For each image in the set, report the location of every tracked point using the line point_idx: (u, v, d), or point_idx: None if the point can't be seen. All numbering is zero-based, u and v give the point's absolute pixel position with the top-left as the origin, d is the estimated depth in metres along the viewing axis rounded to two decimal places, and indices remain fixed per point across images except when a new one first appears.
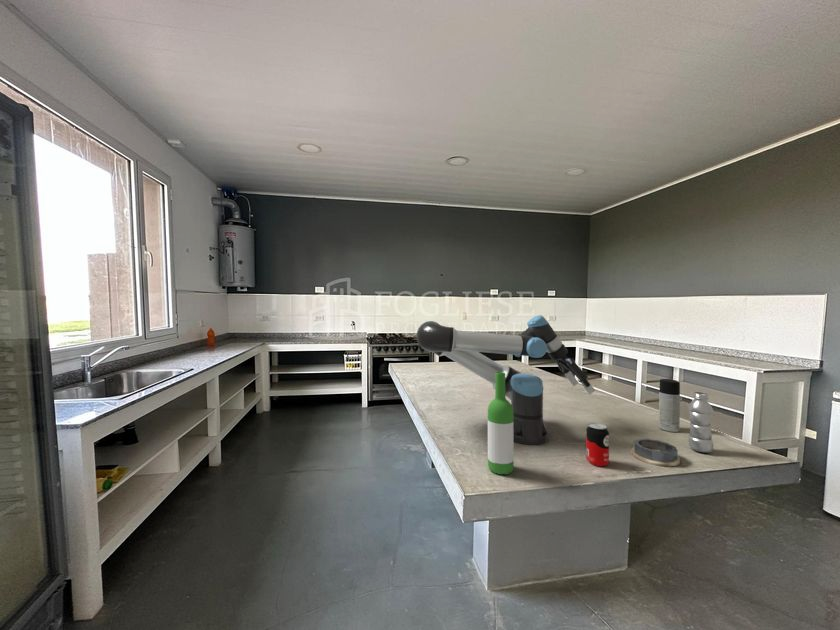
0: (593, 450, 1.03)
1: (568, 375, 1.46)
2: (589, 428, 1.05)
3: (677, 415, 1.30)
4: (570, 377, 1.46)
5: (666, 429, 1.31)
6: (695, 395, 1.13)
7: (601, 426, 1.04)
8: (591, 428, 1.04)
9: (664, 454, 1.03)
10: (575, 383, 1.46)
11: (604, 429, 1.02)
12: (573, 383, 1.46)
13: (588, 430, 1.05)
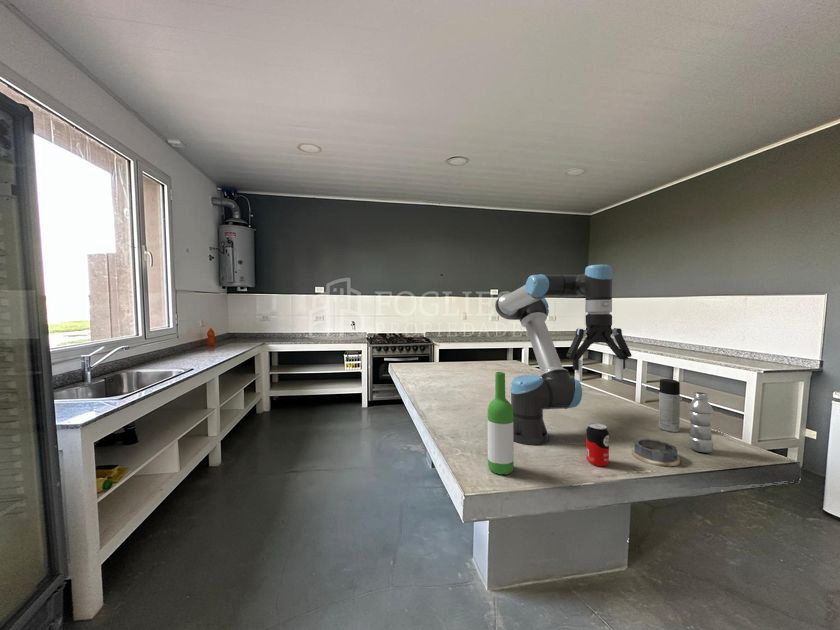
0: (593, 450, 1.03)
1: (616, 362, 1.06)
2: (589, 428, 1.05)
3: (677, 415, 1.30)
4: (617, 366, 1.06)
5: (666, 429, 1.31)
6: (695, 395, 1.13)
7: (601, 426, 1.04)
8: (591, 428, 1.04)
9: (664, 454, 1.03)
10: (618, 377, 1.06)
11: (604, 429, 1.02)
12: (616, 375, 1.06)
13: (588, 430, 1.05)
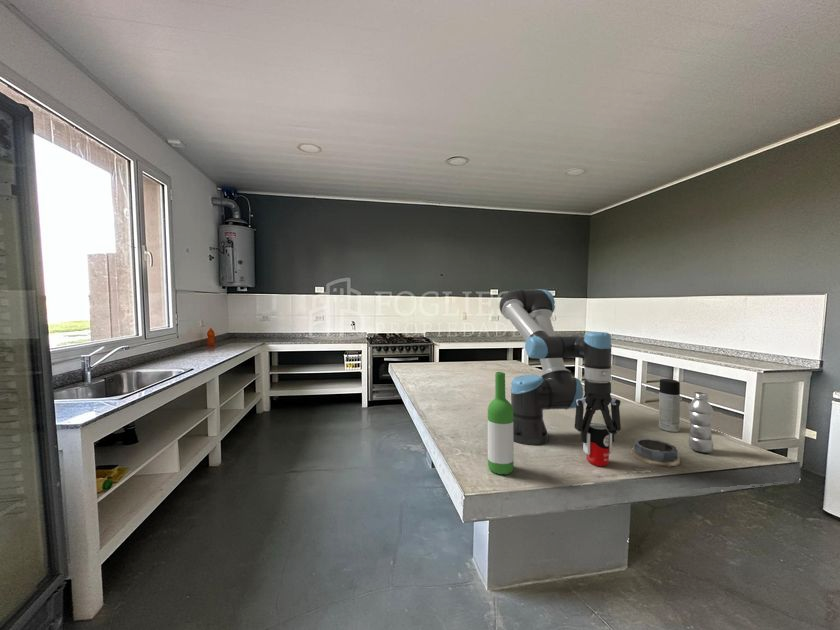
0: (593, 450, 1.03)
1: None
2: (589, 428, 1.05)
3: (677, 415, 1.30)
4: None
5: (666, 429, 1.31)
6: (695, 395, 1.13)
7: (601, 426, 1.04)
8: (591, 428, 1.04)
9: (664, 454, 1.03)
10: None
11: (604, 429, 1.02)
12: None
13: (588, 430, 1.05)
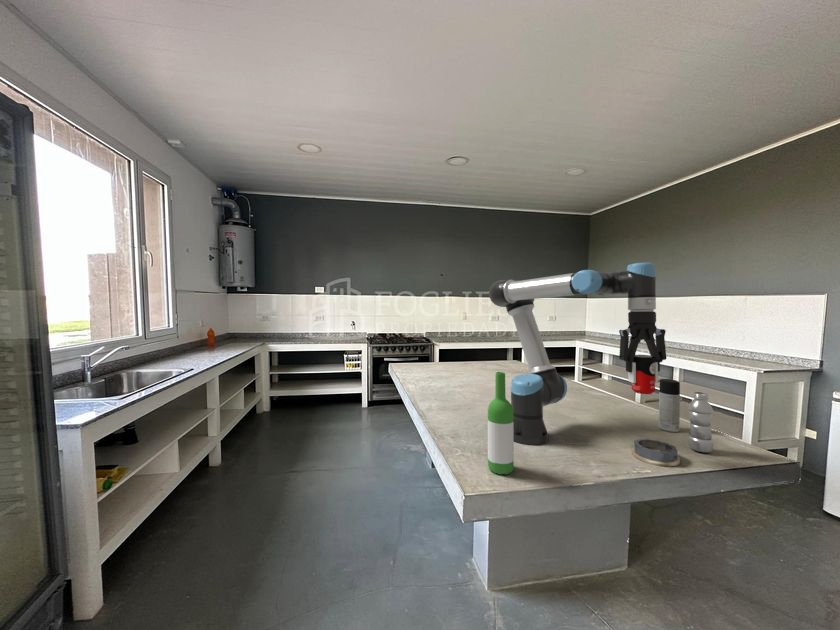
0: (639, 378, 1.04)
1: None
2: (634, 358, 1.06)
3: (677, 415, 1.30)
4: None
5: (666, 429, 1.31)
6: (695, 395, 1.13)
7: (646, 356, 1.06)
8: (637, 357, 1.05)
9: (664, 454, 1.03)
10: None
11: (650, 357, 1.04)
12: None
13: (633, 360, 1.06)
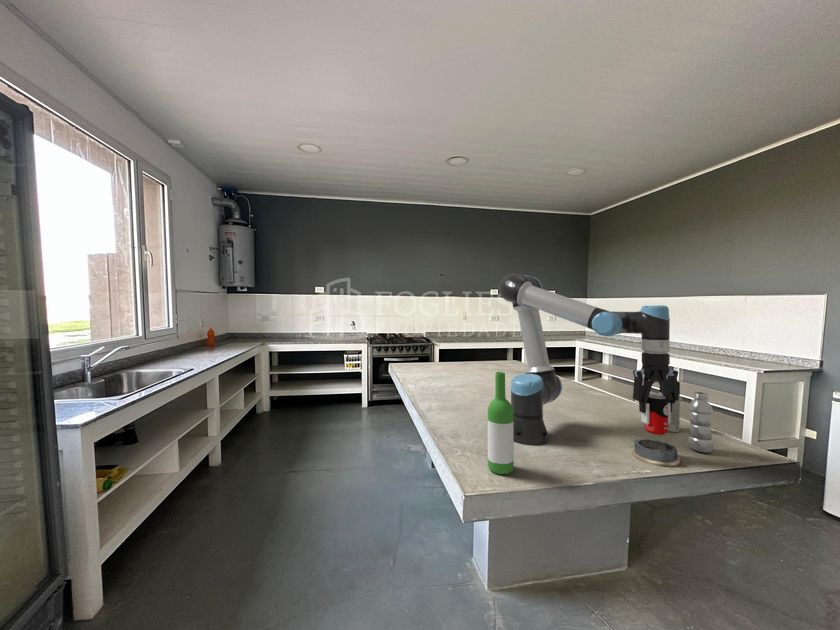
0: (653, 419, 1.06)
1: None
2: (648, 398, 1.08)
3: (677, 415, 1.30)
4: None
5: None
6: (695, 395, 1.13)
7: (659, 396, 1.08)
8: (651, 398, 1.07)
9: (664, 454, 1.03)
10: None
11: (663, 399, 1.06)
12: None
13: (647, 400, 1.08)
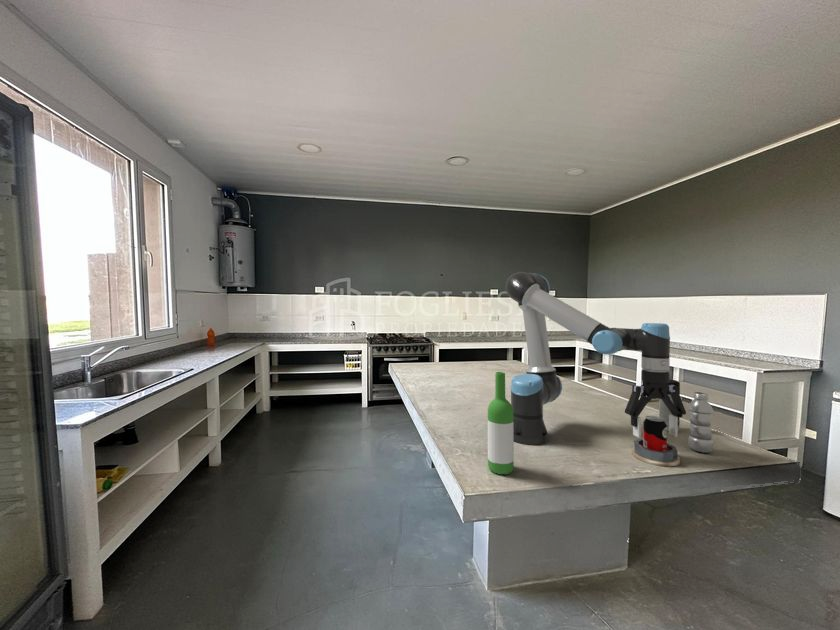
0: (652, 442, 1.06)
1: (670, 418, 1.09)
2: (647, 420, 1.08)
3: None
4: (671, 422, 1.09)
5: None
6: (695, 395, 1.13)
7: (658, 419, 1.08)
8: (650, 420, 1.07)
9: (664, 454, 1.03)
10: (671, 433, 1.08)
11: (662, 421, 1.06)
12: (670, 430, 1.09)
13: (646, 422, 1.08)
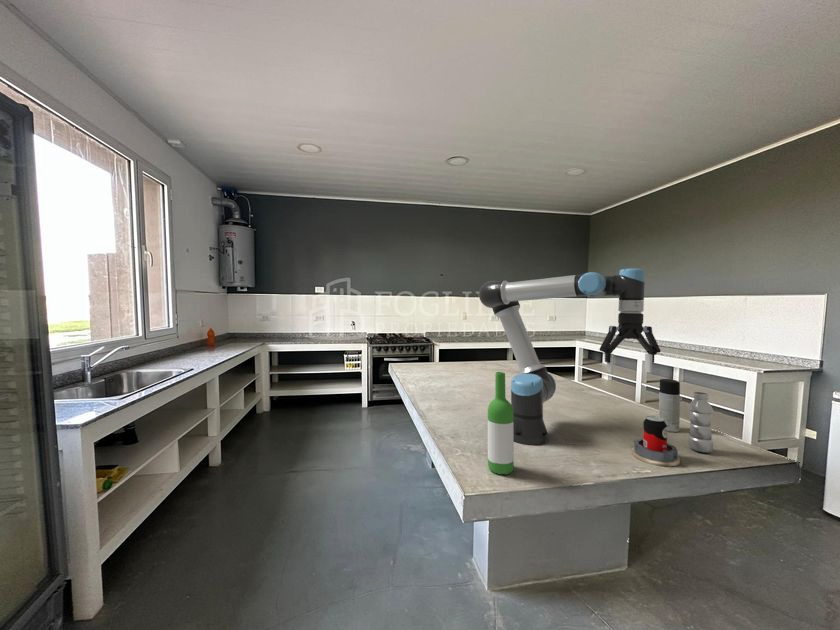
0: (652, 442, 1.06)
1: (646, 356, 1.17)
2: (647, 420, 1.08)
3: (677, 415, 1.30)
4: (647, 360, 1.17)
5: None
6: (695, 395, 1.13)
7: (658, 418, 1.08)
8: (650, 420, 1.07)
9: (664, 454, 1.03)
10: (647, 370, 1.17)
11: (662, 421, 1.06)
12: (645, 368, 1.18)
13: (646, 422, 1.08)
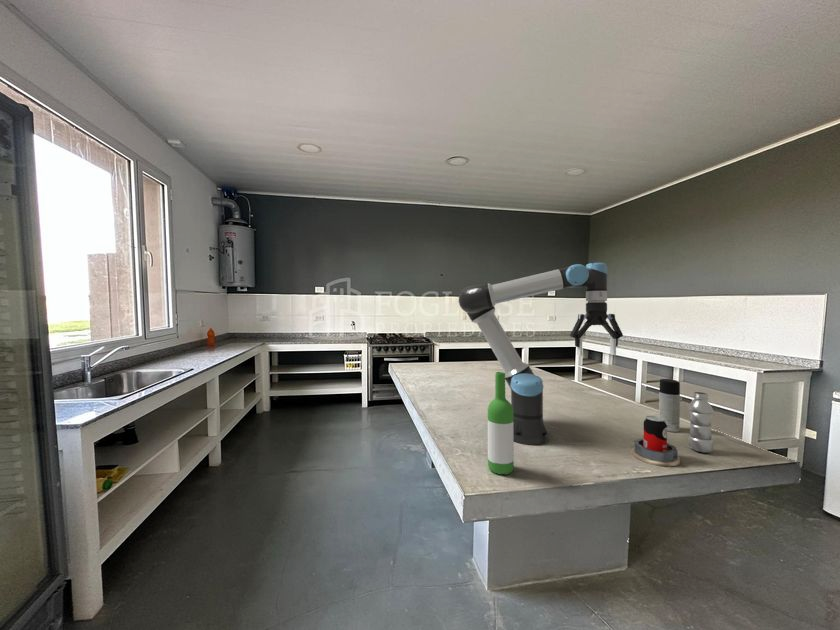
0: (652, 442, 1.06)
1: (611, 341, 1.32)
2: (647, 420, 1.08)
3: (677, 415, 1.30)
4: (611, 344, 1.32)
5: None
6: (695, 395, 1.13)
7: (659, 419, 1.08)
8: (650, 420, 1.07)
9: (664, 454, 1.03)
10: (612, 352, 1.32)
11: (663, 421, 1.06)
12: (610, 351, 1.33)
13: (646, 422, 1.08)
